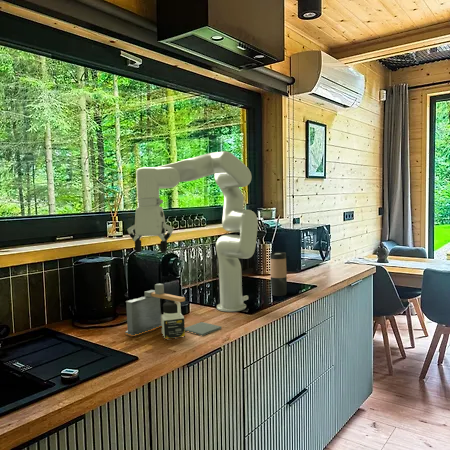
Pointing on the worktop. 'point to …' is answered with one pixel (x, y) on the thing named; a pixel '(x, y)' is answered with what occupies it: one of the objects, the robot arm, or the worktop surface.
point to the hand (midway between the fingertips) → (151, 252)
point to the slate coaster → (202, 328)
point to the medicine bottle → (172, 320)
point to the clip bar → (162, 294)
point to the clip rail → (143, 314)
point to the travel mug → (278, 273)
